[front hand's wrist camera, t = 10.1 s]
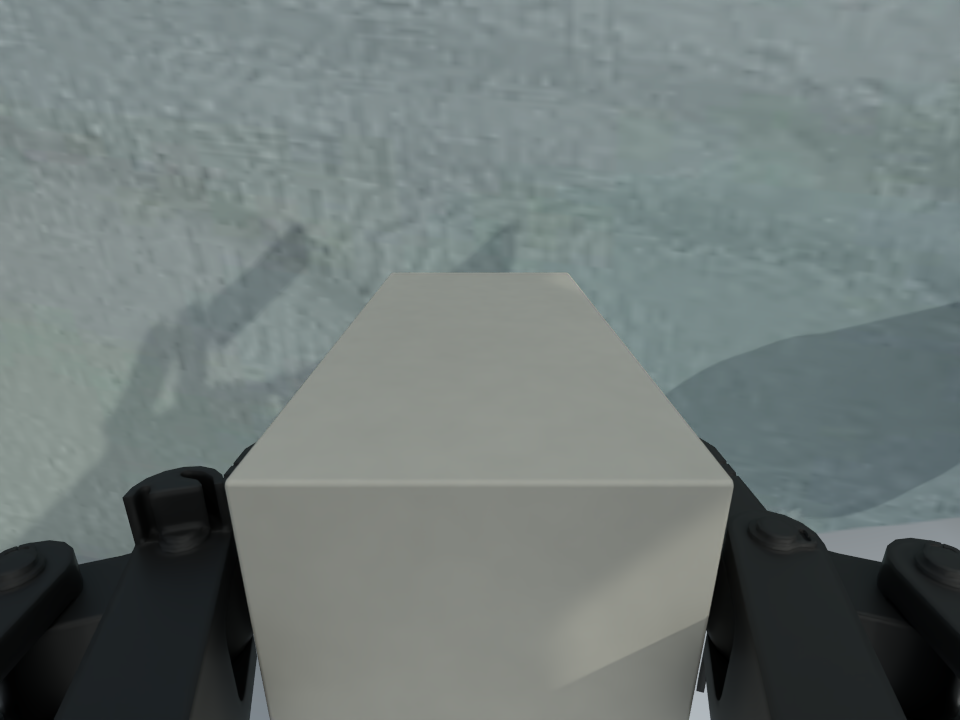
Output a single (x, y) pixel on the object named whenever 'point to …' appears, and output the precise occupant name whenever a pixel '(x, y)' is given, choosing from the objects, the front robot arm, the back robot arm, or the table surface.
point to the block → (479, 517)
